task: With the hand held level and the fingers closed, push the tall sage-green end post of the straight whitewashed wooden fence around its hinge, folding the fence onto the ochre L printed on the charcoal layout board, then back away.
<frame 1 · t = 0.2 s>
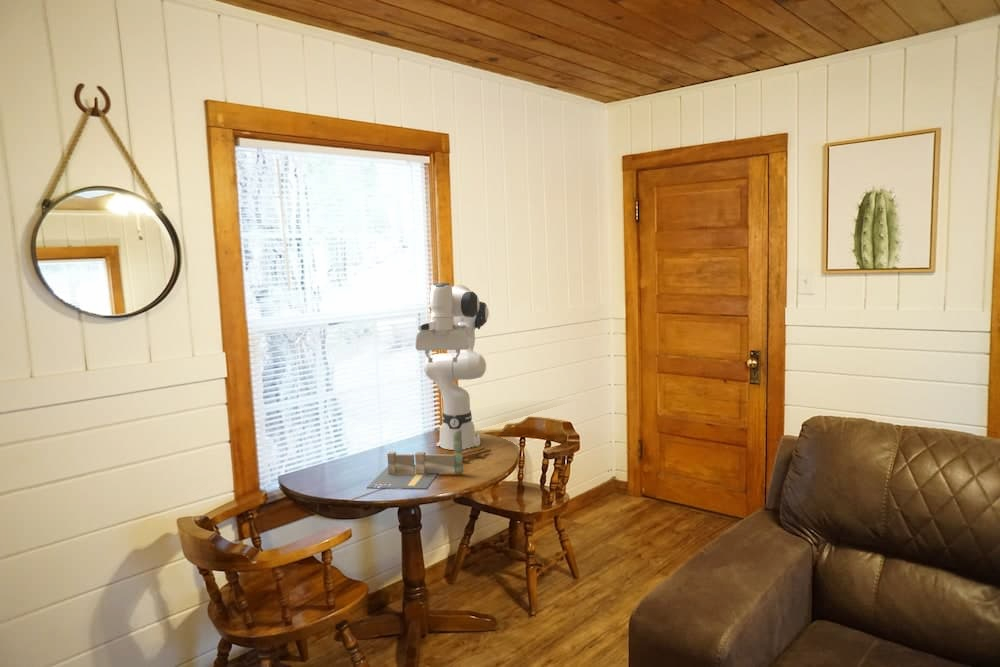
hand: (442, 362, 251), 39 cm above the table, tool pointing down, fingers open, 8 cm apart
decorative fence: (463, 459, 258), on the table, touching layout board
swinging fence section: (439, 451, 240), point 8 cm above the table, hinge at 0.0°
layout board: (406, 476, 239), on the table
fixed fence section: (421, 474, 242), resting on layout board
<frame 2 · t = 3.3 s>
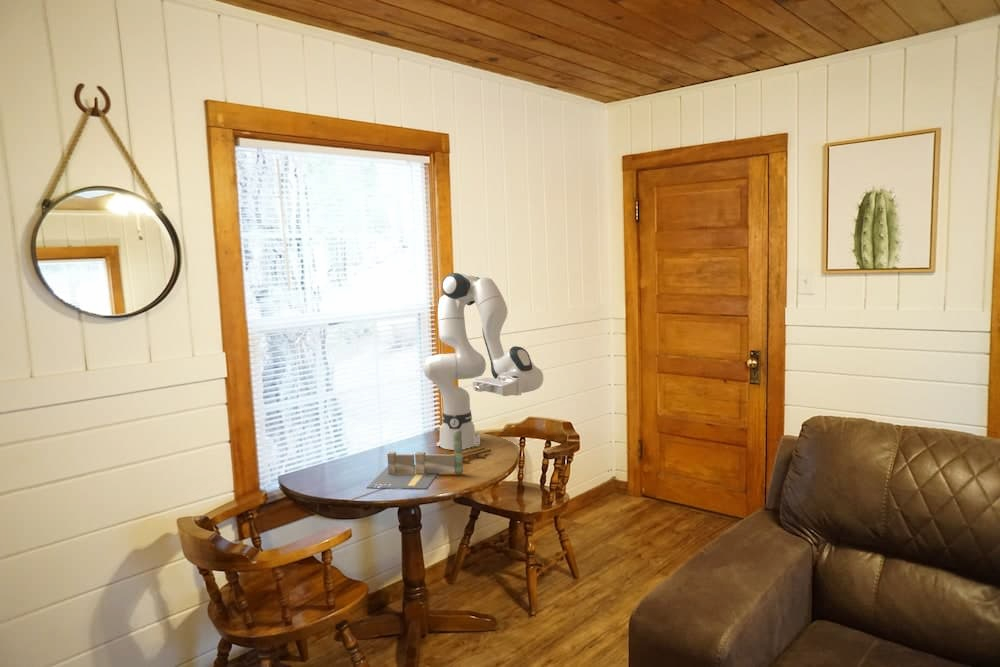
hand: (476, 389, 242), 30 cm above the table, tool horizontal, fingers closed
nothing on the table moved.
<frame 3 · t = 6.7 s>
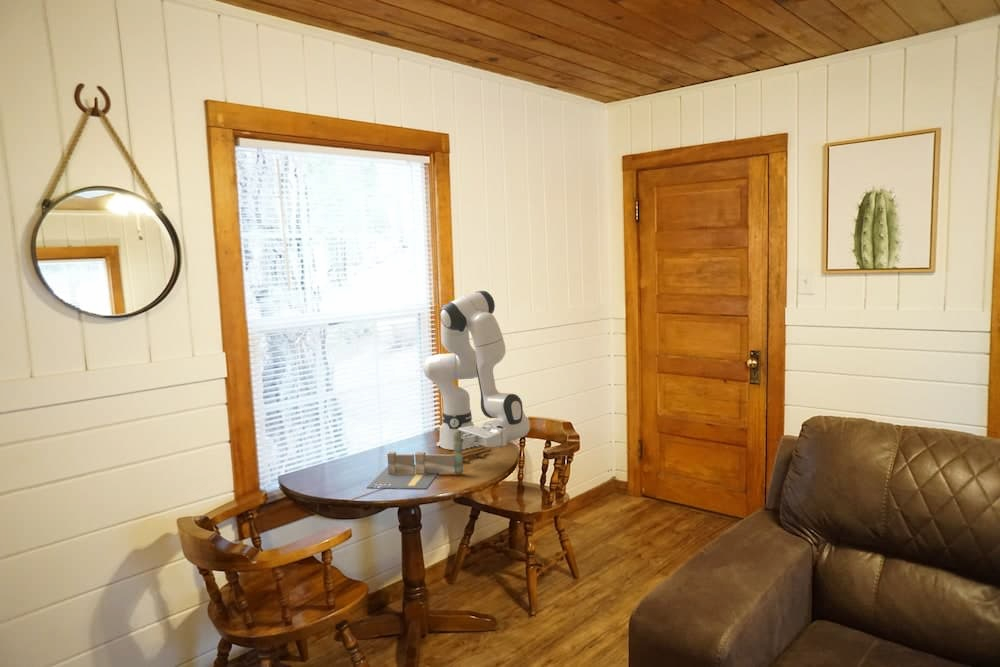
hand: (461, 439, 239), 13 cm above the table, tool horizontal, fingers closed, pressing on swinging fence section
swinging fence section: (439, 451, 240), point 8 cm above the table, hinge at 0.2°, touching gripper
everything else where it was.
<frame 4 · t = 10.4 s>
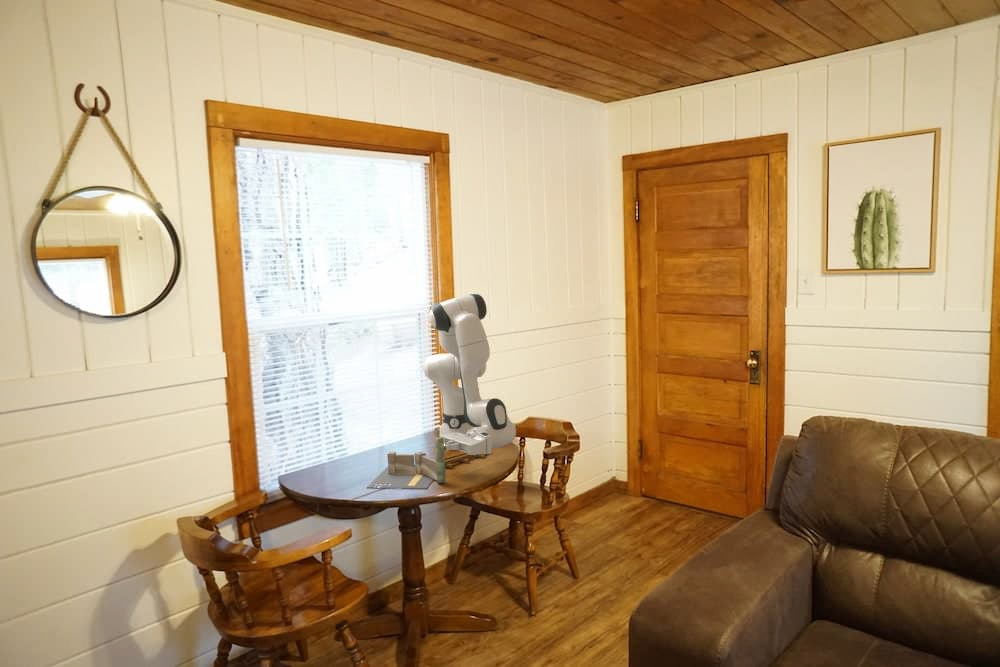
hand: (444, 447, 230), 13 cm above the table, tool horizontal, fingers closed, pressing on swinging fence section
swinging fence section: (430, 455, 235), point 8 cm above the table, hinge at 45.5°, touching gripper
everything else where it was.
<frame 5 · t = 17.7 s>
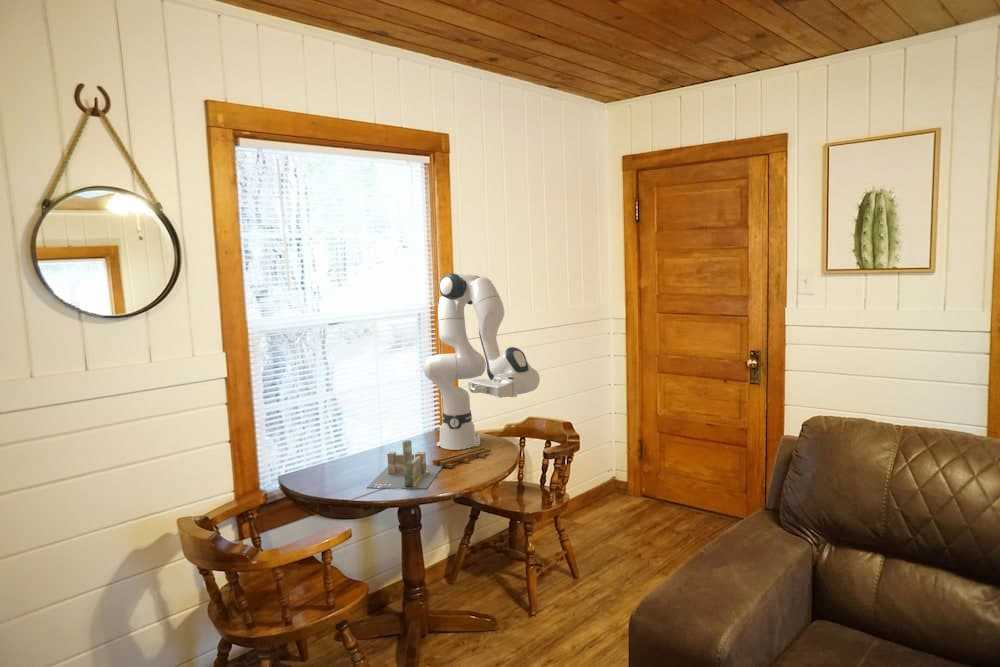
hand: (472, 390, 239), 30 cm above the table, tool horizontal, fingers closed
swinging fence section: (414, 457, 234), point 8 cm above the table, hinge at 92.4°
everything else where it was.
at the end: swinging fence section at +92° (first picture: +0°); the gripper is holding nothing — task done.
